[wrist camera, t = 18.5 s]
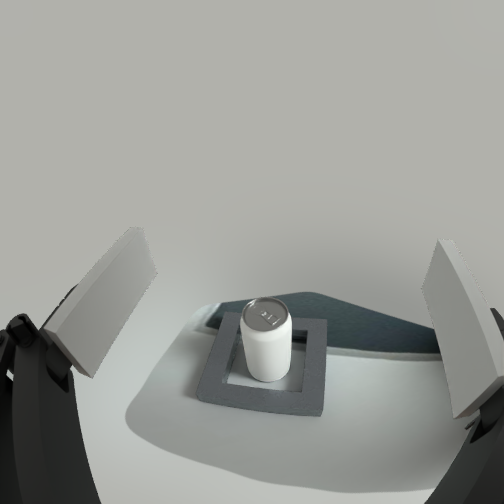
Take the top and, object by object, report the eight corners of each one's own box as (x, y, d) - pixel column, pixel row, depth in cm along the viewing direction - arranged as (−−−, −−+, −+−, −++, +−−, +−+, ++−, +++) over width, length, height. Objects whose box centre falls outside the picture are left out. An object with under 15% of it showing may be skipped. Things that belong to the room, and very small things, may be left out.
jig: (325, 329, 45) (327, 319, 43) (320, 416, 32) (322, 409, 30) (227, 321, 48) (225, 311, 47) (199, 400, 35) (195, 393, 34)
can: (268, 342, 44) (264, 287, 37) (299, 363, 40) (303, 310, 33) (238, 366, 40) (227, 314, 33) (269, 391, 36) (266, 343, 29)
